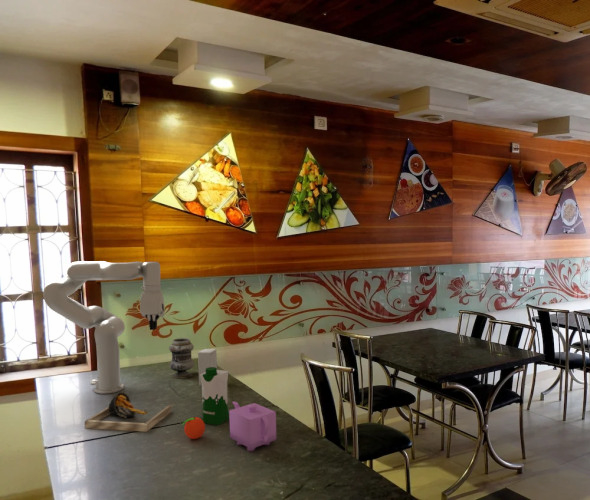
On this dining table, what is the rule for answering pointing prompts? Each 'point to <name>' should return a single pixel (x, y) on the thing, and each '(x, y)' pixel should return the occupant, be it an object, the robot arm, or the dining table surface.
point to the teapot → (252, 425)
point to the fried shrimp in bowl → (123, 406)
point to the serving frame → (128, 426)
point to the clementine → (194, 427)
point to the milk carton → (214, 396)
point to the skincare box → (206, 361)
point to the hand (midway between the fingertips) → (153, 329)
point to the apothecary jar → (181, 357)
